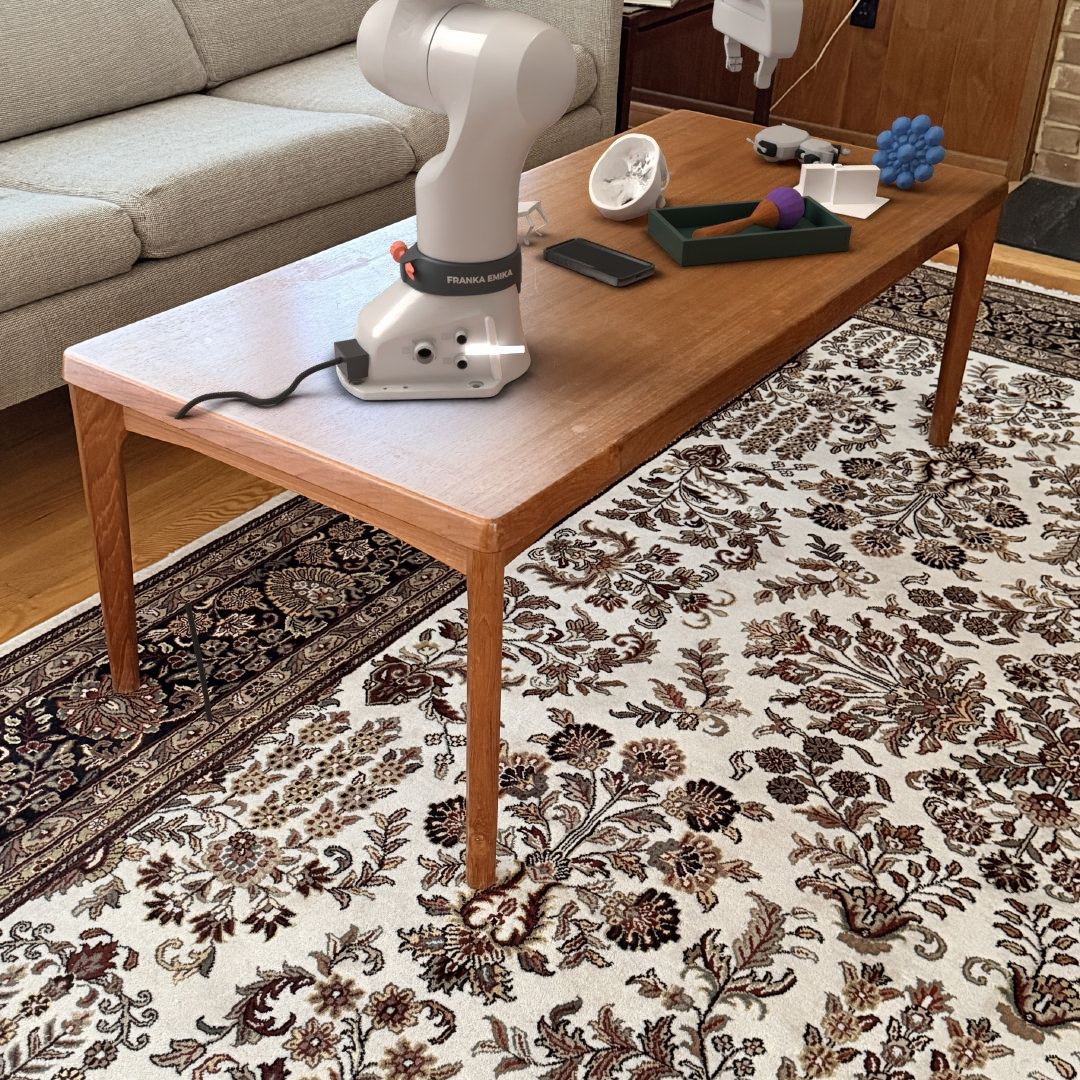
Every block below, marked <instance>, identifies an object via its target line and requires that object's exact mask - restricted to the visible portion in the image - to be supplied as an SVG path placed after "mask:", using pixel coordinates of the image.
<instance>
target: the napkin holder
mask: <svg viewBox="0 0 1080 1080" xmlns="http://www.w3.org/2000/svg"><path fill="white" fill-rule="evenodd" d="M880 172H881V169H879V168H878V167H877V166H876V165H873V164H864V165H863V164H862V165H861V164H860V165H842V163H836V164H834V165H831V164H803V163H801V169H800V177H799V183H798V184H797V185H795V186H794V187H792V188H793V189H796V190H797V191H798V192H799V193H800V194H801V196H810V197H811V198H813V199H814V200H815V201H817V202H818V203H820V204H821V205H823V206H824V207H825V208H827V209H828V210H830V211H831V212H832V213H834V214H840V215H844V216H849V217H854V218H859V219H863V220H865V219H867V218H868V217H869V216H871V215H872V214H873V213H874V212H876V211H877V210H879V208H881V207H882V206H883V205H885V204H886V203H887V202H889V201H890V200H891V199H890V198H886V197H882V196H877V192H878V186H879V180H880V178H879V176H880Z"/></svg>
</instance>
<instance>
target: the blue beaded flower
mask: <svg viewBox="0 0 1080 1080" xmlns="http://www.w3.org/2000/svg"><path fill="white" fill-rule="evenodd" d="M931 123H932V120H931V119H930V116H929V115H926V114H920V115H917V116H916V117H914V119H912V120H911V118H909V117H907V116H904V115H902V116H900V117H898V118H896V119H895V120H894V121H893V122H892V126H891V130H889V129H887V130H883V131H882V132H881V133H879V134H878V135H877V139H876V142H875V144H876V146H877V148H878V150H877V151H876V152H874V154H873V155H872V157H871V165H876V166H877V167H878V168H879V169H880V176H879V180H880V182H881V183H882V184H885V185H890V184H893V183H894V182H895V184H896V187H897V188H898V189H900V190H908V189H910V188H912V187H913V185H915V182H916V181H917V182H920V183H924V182H928V181H929V180H930V179H931V178H932V177H933V175H934V171H935V168H934V166H936V165H939V164H940V163H941V162H943V160H944V159H945V157H946V152H947V151H946V149H945V148H944V146H942V145H939V144H941V142H942V141H943V140H944V137H945V130H944V129H943V127H941V126H937V125H934V126H931Z"/></svg>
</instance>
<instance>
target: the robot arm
mask: <svg viewBox="0 0 1080 1080" xmlns="http://www.w3.org/2000/svg"><path fill="white" fill-rule="evenodd" d="M485 2H486V0H377V1H376V2H374V4H372V5H371V6H370V8H369V9H368V10H367V11H366V13H365V15H364V16H363V18H362V20H361V22H360V25H359V28H358V31H357V37H356V57H357V62H358V66H359V69H360V71H361V74H362V76H363V77H364V79H365V80H366V81H367V83H368V84H369V85H370V86H372V87H373V88H374V89H376V90H377V91H379V92H381V93H382V94H384V95H385V96H388V97H389V98H391V99H393V100H395V101H397V102H399V103H401V104H403V105H405V106H408V107H412V108H416V109H420V110H423V111H424V110H425V111H428V112H433V113H436V114H442V115H445V116H447V119H448V125H449V128H448V129H449V132H448V139H447V142H446V146H445V148H444V150H443V151H441V152H439V153H437V154H436V155H434V156H432V157H431V158H430V159H428V160H427V161H426V162H425V163H424V164H423V165H422V167H421V168H420V169H419V170H418V173H417V175H416V178H415V181H414V194H415V197H414V198H415V216H416V217H415V218H416V242H414V244H413V245H411V246H410V247H409V248H408V245H407V244H406V243H405V242H404V241H401V240H395V241H393V243H391V244H392V245H390V246H389V248H390V249H389V253H390V255H391V256H392V259H393V260H394V261H395V263H396V264H397V263H398V264H399V274H400V277H399V278H398V279H397V280H395V281H394V282H393V283H392V284H391V285H389V286H388V287H387V288H386V289H384V290H383V291H382V292H380V293H378V295H377V296H375V297H374V298H373V299H371V300H369V301H368V302H367V303H366V304H365V305H363V307H362V308H361V309H360V311H359V313H358V315H357V318H356V322H355V327H354V334H353V338H351V339H345V340H339V341H338V340H337V341H334V342H333V349H334V350H333V351H334V358H333V359H329V360H327V361H324V362H321V363H318V364H315V365H313V366H310V367H308V368H306V369H305V370H304V371H302V372H300V373H299V374H298V375H297V376H296V377H295V379H294V380H293V381H292V382H291V384H290V385H289V386H288V387H287V388H286V389H284V391H282V392H280V394H278V395H276V396H273V397H268V398H258V397H255V396H253V395H251V394H249V393H246V392H243V391H239V390H234V391H233V390H231V391H230V390H229V391H217V392H216V391H215V392H210V393H208V392H207V393H205V394H201V395H199V396H196V397H194V398H192V399H191V400H190V401H188V402H187V403H186V404H185V405H184V406H183V407H181V408H180V410H179V411H178V412H177V414H176V415H175V416H174V420H181V419H183V418H184V417H185V416H186V414H187V413H189V411H190V410H191V409H193V408H194V407H195V406H197V405H198V404H201V403H203V402H206V401H210V400H219V399H236V398H237V399H242V400H245V401H247V402H249V403H251V404H253V405H257V406H270V405H275V404H278V403H280V402H282V401H283V400H284V399H286V398H288V397H289V396H290V395H292V394H293V393H294V392H295V390H296V389H298V387H299V385H300V384H301V383H302V382H303V380H305V379H306V378H307V377H310V376H311V375H313V374H315V373H317V372H319V371H322V370H326V369H329V368H332V367H334V366H335V370H336V375H337V377H338V379H339V382H340V384H341V385H342V386H343V388H344V389H345V390H346V391H347V392H349V393H350V394H351V395H353V396H354V397H356V398H359V399H361V400H363V401H384V400H385V401H386V400H389V401H390V400H391V401H392V400H429V399H466V398H469V399H470V398H472V399H473V398H490V397H494V396H496V395H498V394H499V393H500V392H501V390H502V389H503V388H504V386H506V385H507V384H509V383H510V382H512V381H514V380H516V379H518V378H520V377H521V376H522V375H523V374H525V373H526V372H527V371H528V369H529V368H530V366H531V362H532V360H531V354H530V352H529V349H528V346H527V342H526V336H525V332H524V327H523V322H522V321H523V320H522V313H521V304H520V294H521V291H522V283H523V255H522V245H521V244H520V243H518V225H519V224H518V222H519V221H518V220H519V218H518V202H519V199H520V185H521V179H522V173H523V169H524V167H525V162H526V160H527V157H528V155H529V153H530V151H531V149H532V147H533V145H534V144H535V143H536V141H537V139H538V138H540V136H541V135H542V134H543V133H544V132H545V131H547V130H548V129H550V127H553V126H554V125H555V124H556V123H557V122H559V120H560V119H561V118H562V117H563V115H564V114H565V113H566V112H567V110H568V109H569V108H570V105H571V103H572V101H573V98H574V96H575V93H576V90H577V85H578V73H579V69H578V62H577V61H578V60H577V56H576V52H575V49H574V47H573V44H572V42H571V40H570V38H569V37H568V35H567V34H566V33H565V32H563V31H562V30H560V29H558V28H557V27H554V26H552V25H551V24H548V23H546V22H545V21H542V20H540V19H538V18H535V16H531V15H529V14H527V13H524V12H519V11H513V10H510V9H509V10H508V9H503V8H498V7H493V6H486V5H485ZM803 13H804V0H714V1H713V10H712V26H713V29H715V30H716V31H718V32H719V33H721V34H723V35H724V38H723V42H724V44H723V45H724V50H725V56H726V60H725V69H726V70H727V71H729V72H732V73H734V72H737V73H739V72H740V71H742V68H743V60H744V59H743V58H744V57H741V44H742V45H744V46H746V47H748V48H749V49H751V50H753V51H754V52H756V53H758V62H759V65H758V69H757V71H756V72H754V73H753V74H754V76H753V85H754V86H755V88H758V89H760V90H761V89H769V88H770V86H771V81H772V80H771V79H772V75H773V73H774V71H775V69H776V67H777V65H778V61H779V59H789V58H790V59H791V58H792V57H793V55H794V54H795V52H796V51H797V48H798V44H799V39H800V33H801V28H802V21H803ZM184 608H185V613H186V617H187V623H188V626H189V627H188V628H189V631H190V637H191V642H192V645H193V650H194V651H193V652H194V657H195V660H196V665H197V671H198V675H199V680H200V686H201V687H200V688H201V692H202V698H203V702H204V703H203V704H204V709H205V716H206V722H207V723H213V721H214V719H213V713H212V706H211V699H210V693H209V688H208V683H207V682H208V681H207V676H206V672H205V671H206V670H205V666H204V661H203V656H202V651H201V646H200V640H199V636H198V632H197V631H198V630H197V626H196V622H195V616H194V612H193V607H192V602H185V603H184Z"/></svg>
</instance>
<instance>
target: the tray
mask: <svg viewBox="0 0 1080 1080" xmlns="http://www.w3.org/2000/svg"><path fill="white" fill-rule="evenodd" d="M802 198H803V201H804V205H805V208H804V214H803V216H802V218H801V219H800V221H799V222H798V223H797V224H796V225H794V226H793V227H790V228H787V229H778V228H775V227H774V228H765V227H761V226H756V225H751V226H749V227H747V228H746V229H744V230H742V231H741V232H739V233H737V234H735V235H726V236H715V237H703V238H692V235H693V232H694V231H695V230H697V229H702V228H706V227H710V226H714V225H719V224H723V223H727V222H731V221H736V220H740V219H744V218H749V217H750V216H751V215H752V213H753V212H754V211H755V209H756V208H757V206H758V205H759V203H760V202H761V201H763V200H764V199H755V200H754V199H752V200H742V201H741V200H740V201H730V202H729V201H728V202H717V203H706V204H705V203H704V204H691V205H680V206H670V207H669V206H668V207H663V208H658V207H656V208H655V209H649V213H648V217H647V220H648V221H647V230H646V231H647V234H648V235H649V236H650V237H651V238H652V239H653V240H654V241H655V242H656V243H657V244H658V245H659V246H660V247H661V248H662V249H663V250H664V251H665V252H666V253H667V254H668V255H669V256H670V257H671V259H673V260H674V261H675V262H676V263H678V265H679V266H680V267H689V266H699V265H709V264H721V263H730V262H741V261H752V260H753V261H754V260H763V259H773V258H784V257H795V256H805V255H816V254H817V255H818V254H827V253H828V254H829V253H838V252H848V251H849V248H850V241H851V235H852V231H853V230H852V229H853V226H852V225H851V224H850V223H848V222H847V221H845V220H844V219H842V218H841V217H840V216H838V215H837V214H836V213H834V212H831V211H830V210H828V209H827V208H825V207H824V206H823V205H821V204H820V203H818V202H817V201H815V200H814V199H813V198H811V197H810V196H802Z"/></svg>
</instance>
